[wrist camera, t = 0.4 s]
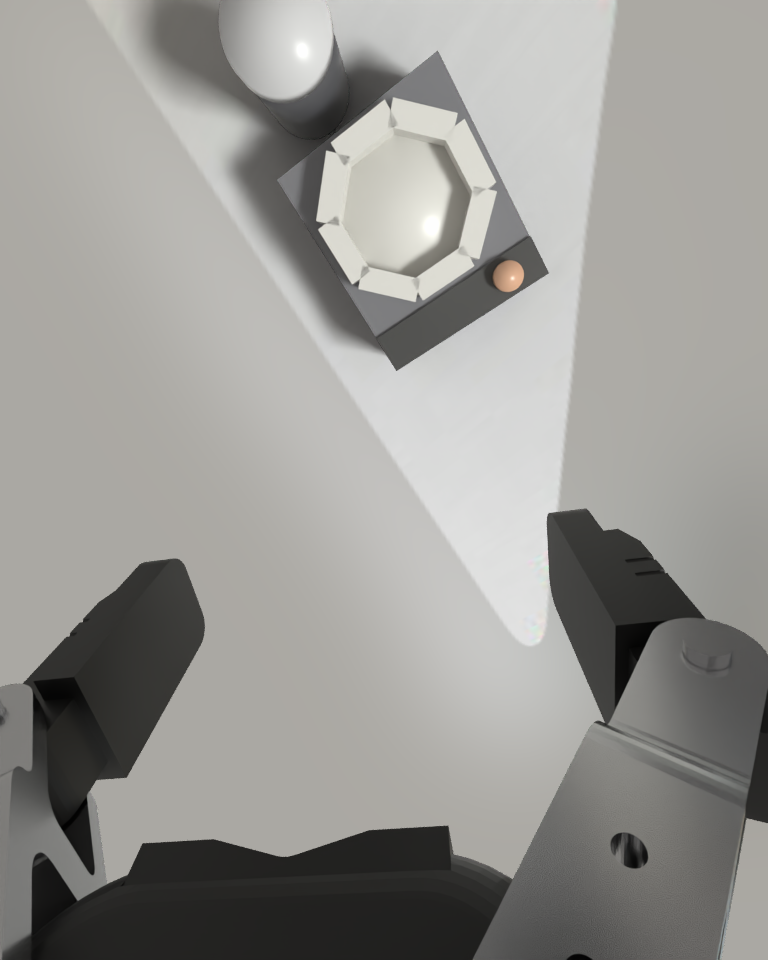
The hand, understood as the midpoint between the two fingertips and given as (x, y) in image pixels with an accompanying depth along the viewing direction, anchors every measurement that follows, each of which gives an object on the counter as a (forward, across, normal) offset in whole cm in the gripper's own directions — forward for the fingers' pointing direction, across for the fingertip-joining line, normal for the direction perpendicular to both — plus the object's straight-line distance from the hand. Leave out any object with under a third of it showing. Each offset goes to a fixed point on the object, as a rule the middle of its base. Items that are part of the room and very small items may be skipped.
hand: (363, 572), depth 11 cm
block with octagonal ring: (+26, -2, -8) cm, 28 cm away
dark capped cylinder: (+27, +3, -16) cm, 31 cm away
